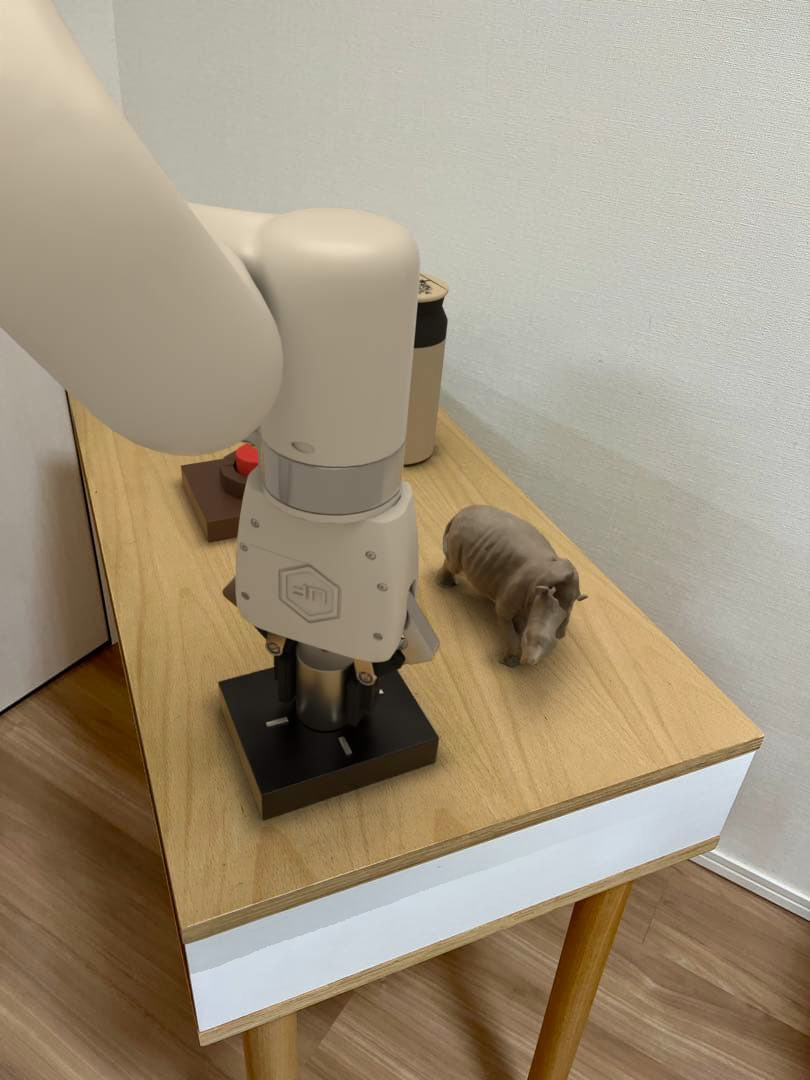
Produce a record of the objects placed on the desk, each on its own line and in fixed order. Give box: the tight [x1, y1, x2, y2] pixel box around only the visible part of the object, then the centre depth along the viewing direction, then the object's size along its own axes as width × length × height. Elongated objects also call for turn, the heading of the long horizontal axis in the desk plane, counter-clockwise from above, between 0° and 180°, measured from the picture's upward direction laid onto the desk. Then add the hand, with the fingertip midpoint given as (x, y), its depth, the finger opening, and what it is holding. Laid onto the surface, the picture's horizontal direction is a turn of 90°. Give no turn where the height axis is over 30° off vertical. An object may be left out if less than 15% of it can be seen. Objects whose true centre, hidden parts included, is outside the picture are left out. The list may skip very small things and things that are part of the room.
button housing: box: [180, 450, 248, 543], centre depth 77 cm, size 12×10×4 cm
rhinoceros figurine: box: [434, 504, 589, 667], centre depth 64 cm, size 8×14×15 cm
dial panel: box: [217, 666, 440, 821], centre depth 55 cm, size 12×10×3 cm
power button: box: [235, 443, 258, 476], centre depth 76 cm, size 4×4×2 cm
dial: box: [296, 641, 355, 731], centre depth 53 cm, size 4×4×6 cm
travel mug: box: [404, 272, 450, 465], centre depth 83 cm, size 8×8×18 cm
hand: (326, 697), depth 54 cm, fingers closed on dial, 4 cm apart
